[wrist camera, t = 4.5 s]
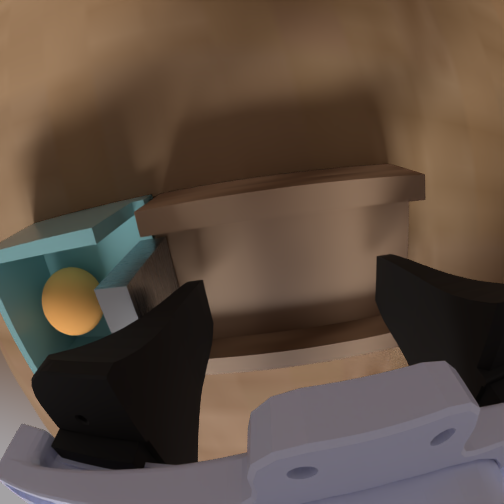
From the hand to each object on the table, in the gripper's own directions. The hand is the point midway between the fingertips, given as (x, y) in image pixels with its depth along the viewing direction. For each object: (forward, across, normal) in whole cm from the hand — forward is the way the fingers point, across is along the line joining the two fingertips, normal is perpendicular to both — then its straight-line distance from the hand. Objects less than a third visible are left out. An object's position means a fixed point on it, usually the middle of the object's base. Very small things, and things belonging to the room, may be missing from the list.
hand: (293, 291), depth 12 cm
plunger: (+1, +5, 0) cm, 6 cm away
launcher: (+4, 0, 0) cm, 4 cm away
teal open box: (+4, +10, 0) cm, 11 cm away
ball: (+1, +11, 0) cm, 11 cm away
